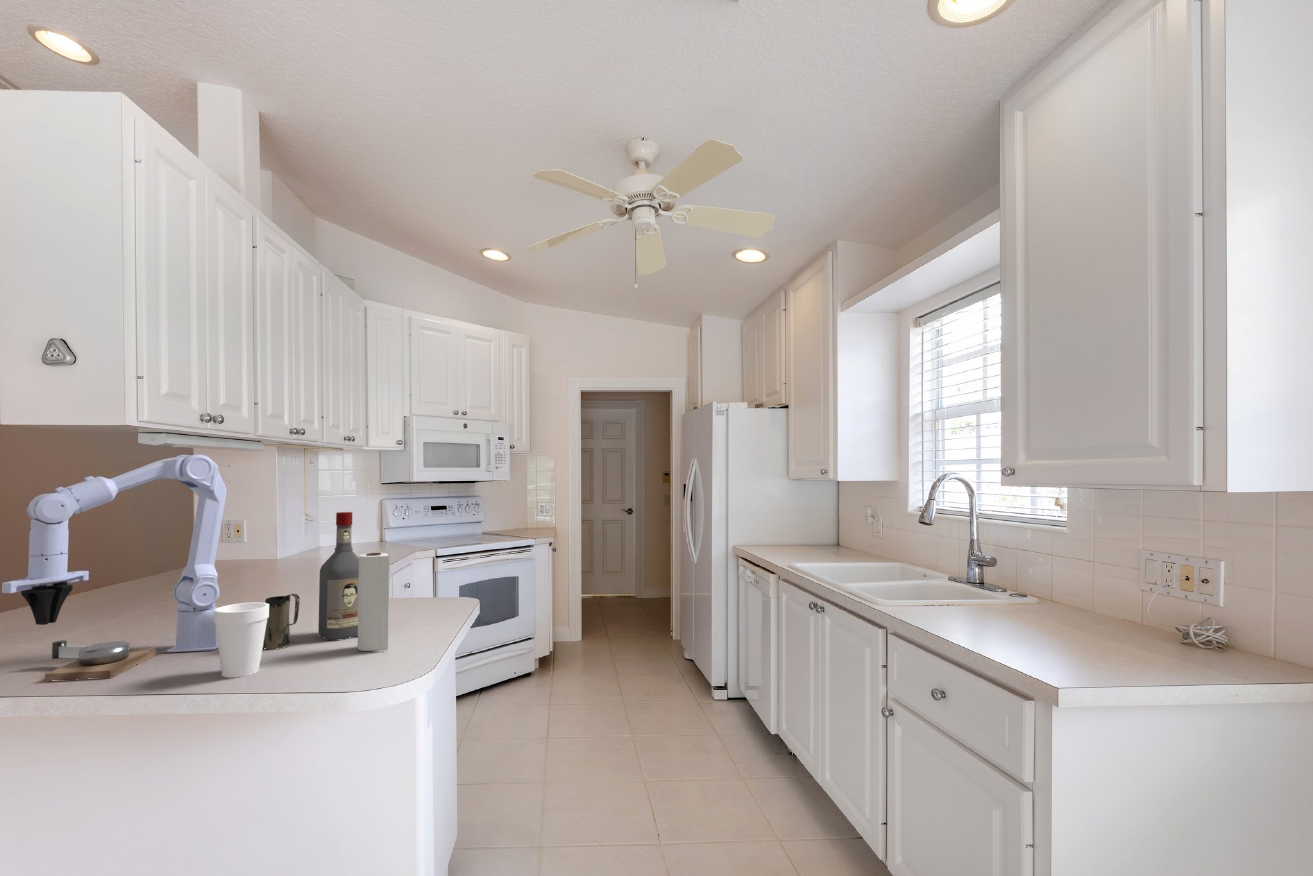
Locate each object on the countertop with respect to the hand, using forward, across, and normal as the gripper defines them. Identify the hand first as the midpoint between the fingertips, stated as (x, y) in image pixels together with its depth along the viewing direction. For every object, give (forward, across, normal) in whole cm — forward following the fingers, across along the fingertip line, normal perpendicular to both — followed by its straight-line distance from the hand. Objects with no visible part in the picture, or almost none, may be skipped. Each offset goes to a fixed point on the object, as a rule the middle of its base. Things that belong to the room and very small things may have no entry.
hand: (46, 623), depth 129 cm
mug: (+11, -26, +31) cm, 42 cm away
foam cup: (+11, -8, +36) cm, 39 cm away
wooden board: (+10, -7, +6) cm, 14 cm away
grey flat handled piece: (+9, -6, +2) cm, 11 cm away
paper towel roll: (+11, -28, +52) cm, 60 cm away
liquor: (+11, -38, +38) cm, 55 cm away
